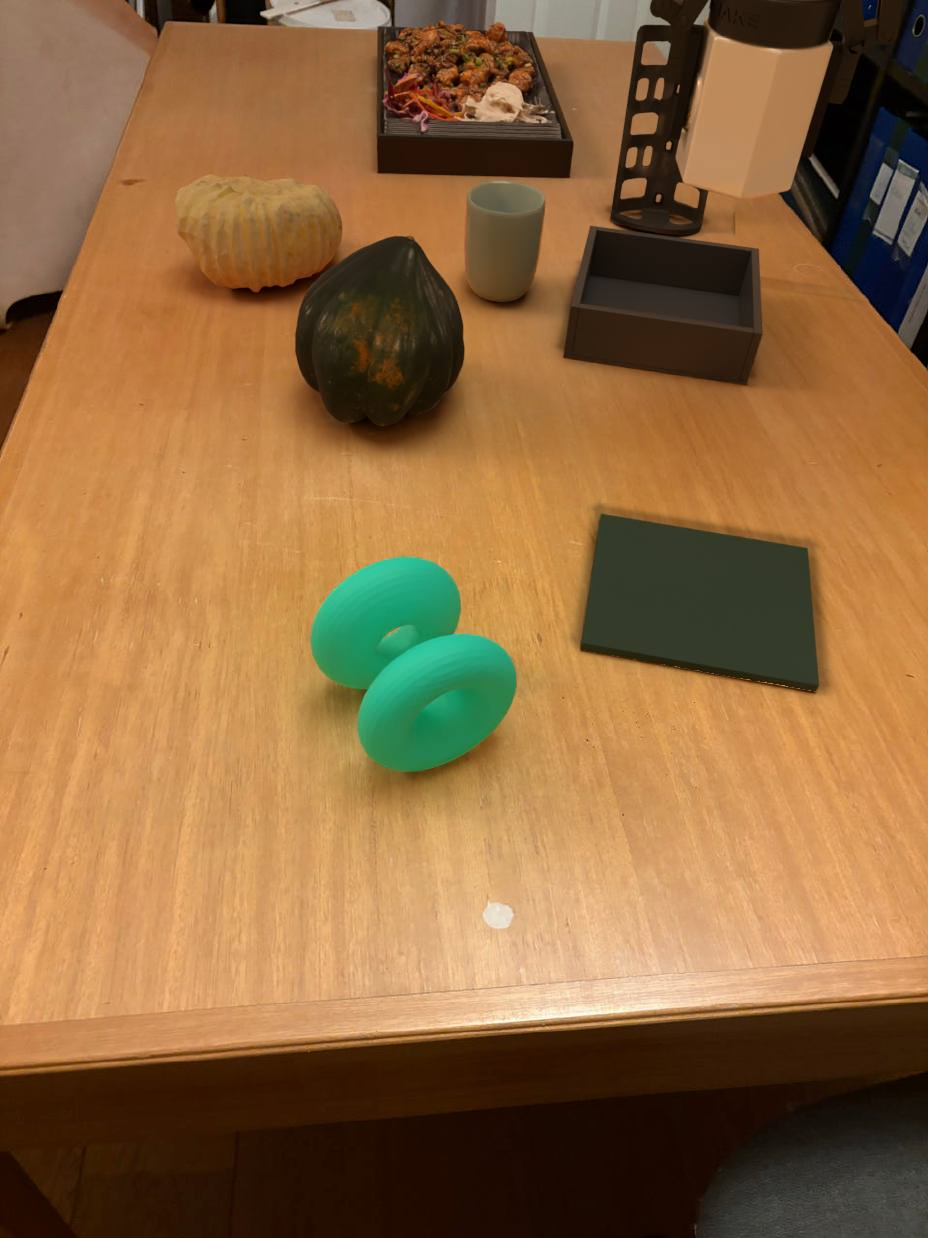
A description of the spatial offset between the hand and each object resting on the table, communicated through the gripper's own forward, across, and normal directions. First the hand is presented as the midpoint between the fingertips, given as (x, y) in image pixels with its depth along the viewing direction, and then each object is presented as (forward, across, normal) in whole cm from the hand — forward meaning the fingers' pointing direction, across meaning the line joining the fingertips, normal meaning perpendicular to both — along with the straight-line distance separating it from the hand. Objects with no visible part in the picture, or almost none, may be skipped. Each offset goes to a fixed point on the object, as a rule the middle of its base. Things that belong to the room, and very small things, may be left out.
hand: (739, 140), depth 67 cm
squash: (+24, -26, -5) cm, 35 cm away
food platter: (+24, -34, +68) cm, 80 cm away
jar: (+3, 0, 0) cm, 3 cm away
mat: (+23, +4, -23) cm, 33 cm away
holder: (+24, -5, +41) cm, 47 cm away
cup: (+24, -19, +18) cm, 35 cm away
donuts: (+24, -14, -38) cm, 47 cm away
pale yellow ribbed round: (+24, -44, +15) cm, 52 cm away
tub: (+23, -2, +16) cm, 28 cm away
